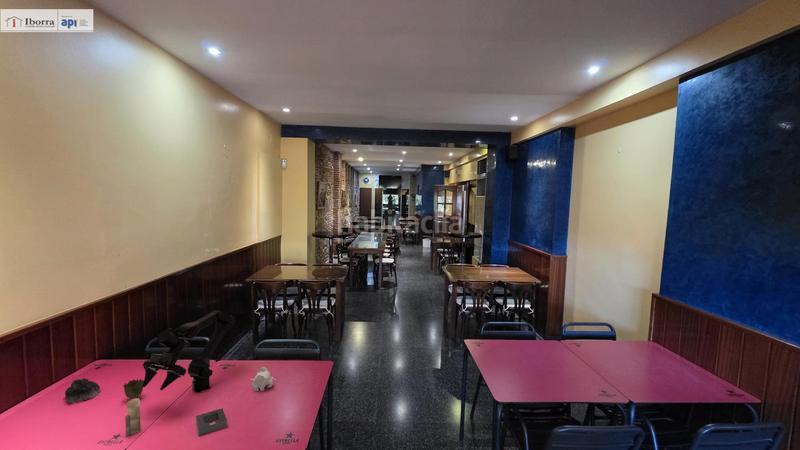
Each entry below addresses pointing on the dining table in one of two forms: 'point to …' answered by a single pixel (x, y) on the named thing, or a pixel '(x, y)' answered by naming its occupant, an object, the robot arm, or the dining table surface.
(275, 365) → the dining table surface
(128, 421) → the keyed peg
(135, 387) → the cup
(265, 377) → the elephant figurine
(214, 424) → the block
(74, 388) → the dark grey rock
